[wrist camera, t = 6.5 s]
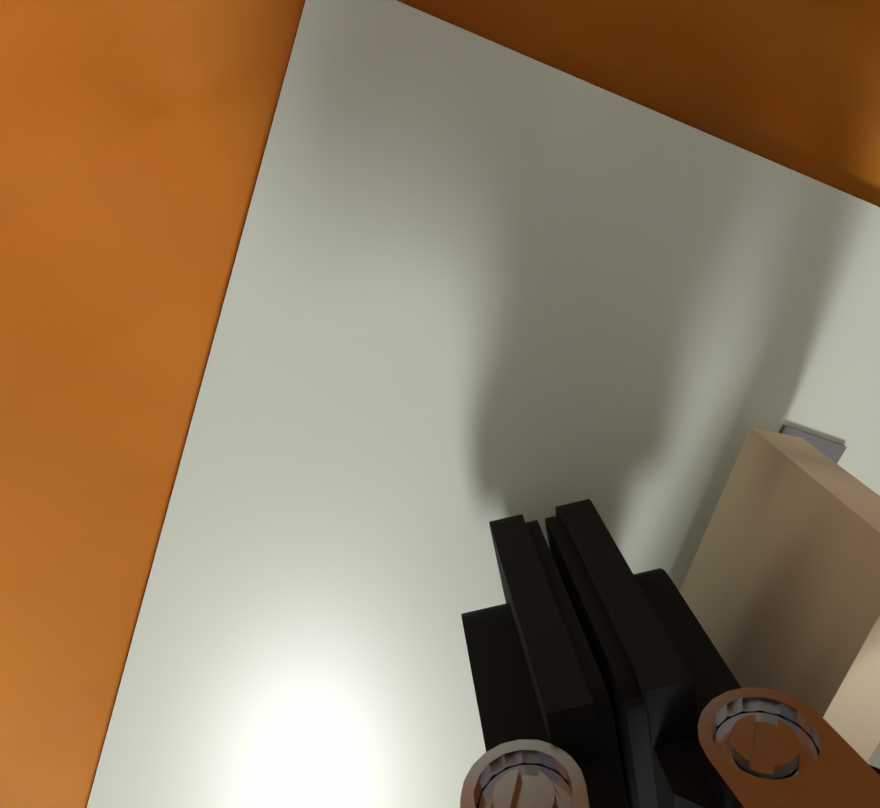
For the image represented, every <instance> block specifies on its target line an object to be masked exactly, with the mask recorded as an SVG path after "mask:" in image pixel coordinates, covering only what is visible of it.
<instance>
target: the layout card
mask: <svg viewBox="0 0 880 808" xmlns="http://www.w3.org/2000/svg"><path fill="white" fill-rule="evenodd" d="M751 427H754V428H758V429H763V430H767V431H772V432H777V433H781V434H786V435H791V436H795V437H800V438H803V439H804V440H806V441H807V442H808V443H810V444H811V445H812V446H814V447H815V448H816V449H818V450H819V451H820V452H822V453H823V454H824V455H826V456H827V457H828V458H830V459H831V460H832V461H834V462H835V463H836V464H838V465H839V466H840V467H842V468H843V469H844V470H846V471H847V472H848V473H850V474H851V475H852V476H854V477H855V478H856V479H858V480H859V481H860V482H862V483H863V484H864V485H866V486H867V487H868V488H870V489H871V490H872V491H874V492H875V493H876V494H878V495H879V496H880V207H878V206H876V205H873V204H871V203H869V202H866V201H864V200H862V199H859V198H857V197H855V196H852V195H850V194H848V193H845V192H843V191H841V190H838V189H836V188H834V187H831V186H829V185H827V184H824V183H822V182H820V181H817V180H815V179H813V178H810V177H808V176H806V175H803V174H801V173H798V172H796V171H794V170H791V169H789V168H787V167H784V166H782V165H780V164H777V163H775V162H773V161H770V160H768V159H766V158H763V157H761V156H759V155H756V154H754V153H752V152H749V151H747V150H745V149H742V148H740V147H738V146H735V145H733V144H731V143H728V142H726V141H724V140H721V139H719V138H717V137H714V136H712V135H710V134H707V133H705V132H703V131H700V130H698V129H696V128H693V127H691V126H689V125H686V124H684V123H682V122H679V121H677V120H675V119H672V118H670V117H668V116H665V115H663V114H661V113H658V112H656V111H654V110H651V109H649V108H647V107H644V106H642V105H640V104H637V103H635V102H633V101H630V100H628V99H626V98H623V97H621V96H619V95H616V94H614V93H612V92H609V91H607V90H605V89H602V88H600V87H598V86H595V85H593V84H591V83H588V82H586V81H584V80H581V79H579V78H577V77H574V76H572V75H570V74H567V73H565V72H563V71H560V70H558V69H556V68H553V67H551V66H549V65H546V64H544V63H542V62H539V61H537V60H535V59H532V58H530V57H528V56H525V55H523V54H521V53H518V52H516V51H514V50H511V49H509V48H507V47H504V46H502V45H499V44H497V43H495V42H492V41H490V40H488V39H485V38H483V37H481V36H478V35H476V34H474V33H471V32H469V31H467V30H464V29H462V28H460V27H457V26H455V25H453V24H450V23H448V22H446V21H443V20H441V19H439V18H436V17H434V16H432V15H429V14H427V13H425V12H422V11H420V10H418V9H415V8H413V7H411V6H408V5H406V4H404V3H401V2H399V1H397V0H306V1H305V4H304V8H303V12H302V15H301V19H300V23H299V27H298V30H297V34H296V38H295V41H294V45H293V49H292V52H291V56H290V60H289V63H288V67H287V71H286V74H285V78H284V82H283V86H282V89H281V93H280V97H279V100H278V104H277V108H276V111H275V115H274V119H273V122H272V126H271V130H270V134H269V137H268V141H267V145H266V148H265V152H264V156H263V159H262V163H261V167H260V170H259V174H258V178H257V181H256V185H255V189H254V193H253V196H252V200H251V204H250V207H249V211H248V215H247V218H246V222H245V226H244V229H243V233H242V237H241V240H240V244H239V248H238V252H237V255H236V259H235V263H234V266H233V270H232V274H231V277H230V281H229V285H228V288H227V292H226V296H225V299H224V303H223V307H222V311H221V314H220V318H219V322H218V325H217V329H216V333H215V336H214V340H213V344H212V347H211V351H210V355H209V358H208V362H207V366H206V370H205V373H204V377H203V381H202V384H201V388H200V392H199V395H198V399H197V403H196V406H195V410H194V414H193V417H192V421H191V425H190V429H189V432H188V436H187V440H186V443H185V447H184V451H183V454H182V458H181V462H180V465H179V469H178V473H177V477H176V480H175V484H174V488H173V491H172V495H171V499H170V502H169V506H168V510H167V513H166V517H165V521H164V524H163V528H162V532H161V536H160V539H159V543H158V547H157V550H156V554H155V558H154V561H153V565H152V569H151V572H150V576H149V580H148V583H147V587H146V591H145V595H144V598H143V602H142V606H141V609H140V613H139V617H138V620H137V624H136V628H135V631H134V635H133V639H132V642H131V646H130V650H129V654H128V657H127V661H126V665H125V668H124V672H123V676H122V679H121V683H120V687H119V690H118V694H117V698H116V701H115V705H114V709H113V713H112V716H111V720H110V724H109V727H108V731H107V735H106V738H105V742H104V746H103V749H102V753H101V757H100V760H99V764H98V768H97V772H96V775H95V779H94V783H93V786H92V790H91V794H90V797H89V801H88V805H87V808H460V797H461V792H462V787H463V782H464V779H465V777H466V776H467V774H468V772H469V770H470V769H471V767H472V765H473V764H474V763H475V762H476V761H477V760H478V759H479V758H480V757H481V756H482V755H483V754H484V753H486V748H485V743H484V738H483V732H482V727H481V721H480V716H479V710H478V705H477V699H476V694H475V688H474V683H473V677H472V672H471V667H470V661H469V656H468V650H467V645H466V639H465V634H464V628H463V623H462V617H461V614H462V613H467V612H471V611H476V610H480V609H484V608H489V607H493V606H497V605H502V604H506V601H505V597H504V592H503V587H502V582H501V578H500V573H499V568H498V564H497V559H496V554H495V549H494V545H493V540H492V535H491V530H490V525H489V521H494V520H498V519H502V518H507V517H511V516H516V515H520V514H522V515H523V517H524V520H525V522H530V521H534V520H538V522H539V525H540V527H541V530H542V532H543V535H544V537H545V539H546V542H547V544H548V547H549V543H548V537H547V532H546V526H545V518H549V517H553V516H556V513H555V508H556V506H560V505H564V504H569V503H573V502H577V501H582V500H586V499H590V500H591V501H592V503H593V505H594V506H595V508H596V510H597V512H598V513H599V515H600V517H601V519H602V520H603V522H604V524H605V526H606V527H607V529H608V531H609V533H610V534H611V536H612V538H613V540H614V541H615V543H616V545H617V547H618V548H619V550H620V552H621V554H622V555H623V557H624V559H625V561H626V562H627V564H628V566H629V567H630V569H631V571H632V573H633V574H637V573H641V572H646V571H650V570H654V569H659V568H661V569H663V570H665V572H666V573H667V574H668V575H669V577H670V578H671V580H672V581H673V583H674V584H675V586H676V587H677V589H678V590H679V592H680V589H681V587H682V585H683V583H684V580H685V578H686V576H687V573H688V571H689V569H690V566H691V564H692V562H693V559H694V557H695V555H696V552H697V550H698V548H699V546H700V543H701V541H702V539H703V536H704V534H705V532H706V529H707V527H708V525H709V522H710V520H711V518H712V515H713V513H714V511H715V509H716V506H717V504H718V502H719V499H720V497H721V495H722V492H723V490H724V488H725V485H726V483H727V481H728V478H729V476H730V474H731V472H732V469H733V467H734V465H735V462H736V460H737V458H738V455H739V453H740V451H741V448H742V446H743V444H744V441H745V439H746V437H747V435H748V432H749V430H750V428H751ZM867 763H868V764H869V765H871V766H874V767H877V768H879V769H880V742H879V743H878V745H877V747H876V748H875V750H874V752H873V753H872V755H871V757H870V759H869V760H868V762H867Z"/></svg>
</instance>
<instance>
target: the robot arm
mask: <svg viewBox="0 0 880 808" xmlns="http://www.w3.org/2000/svg"><path fill="white" fill-rule="evenodd" d="M555 513H556V516H553V517H549V518H545V526H546V532H547V537H548V543H549V547H548V544H547V542H546V539H545V537H544V535H543V532H542V530H541V527H540V525H539V522H538V520H534V521H530V522H525V520H524V517H523V515H522V514H520V515H516V516H511V517H507V518H502V519H498V520H494V521H489V525H490V530H491V535H492V540H493V545H494V549H495V554H496V559H497V564H498V568H499V573H500V578H501V582H502V587H503V592H504V597H505V601H506V604H502V605H497V606H493V607H489V608H484V609H480V610H476V611H471V612H467V613H462V614H461V617H462V623H463V628H464V634H465V639H466V645H467V650H468V656H469V661H470V667H471V672H472V677H473V683H474V688H475V694H476V699H477V705H478V710H479V716H480V721H481V727H482V732H483V738H484V743H485V748H486V753H484V754H483V755H482V756H481V757H480V758H479V759H478V760H477V761H476V762H475V763H474V764H473V765H472V767H471V769H470V770H469V772H468V774H467V776H466V777H465V779H464V782H463V787H462V792H461V797H460V808H880V769H879V768H877V767H874V766H871V765H869V764H868V763H867V762H866V761H865V760H864V759H863V758H862V757H861V756H860V755H859V754H858V753H857V752H856V751H855V750H854V749H853V748H852V747H851V746H850V745H849V744H848V743H847V742H846V741H845V740H844V739H843V738H842V737H841V736H840V735H839V734H838V733H837V732H836V731H835V730H834V729H833V728H832V727H831V725H830V724H829V723H828V722H827V721H826V720H825V719H824V718H823V717H822V716H821V715H820V714H819V713H817V712H816V711H815V710H813V709H812V708H811V707H810V706H808V705H807V704H806V703H805V702H803V701H801V700H799V699H797V698H795V697H793V696H791V695H789V694H786V693H784V692H780V691H776V690H771V689H767V688H746V687H744V688H741V686H740V685H739V683H738V682H737V680H736V678H735V677H734V675H733V674H732V672H731V671H730V669H729V668H728V666H727V665H726V663H725V661H724V660H723V658H722V657H721V655H720V654H719V652H718V651H717V649H716V648H715V646H714V645H713V643H712V641H711V640H710V638H709V637H708V635H707V634H706V632H705V631H704V629H703V628H702V626H701V624H700V623H699V621H698V620H697V618H696V617H695V615H694V614H693V612H692V611H691V609H690V607H689V606H688V604H687V603H686V601H685V600H684V598H683V597H682V595H681V594H680V592H679V590H678V589H677V587H676V586H675V584H674V583H673V581H672V580H671V578H670V577H669V575H668V574H667V573H666V572H665V570H663V569H661V568H659V569H654V570H650V571H646V572H641V573H637V574H633V573H632V571H631V569H630V567H629V566H628V564H627V562H626V561H625V559H624V557H623V555H622V554H621V552H620V550H619V548H618V547H617V545H616V543H615V541H614V540H613V538H612V536H611V534H610V533H609V531H608V529H607V527H606V526H605V524H604V522H603V520H602V519H601V517H600V515H599V513H598V512H597V510H596V508H595V506H594V505H593V503H592V501H591V500H590V499H586V500H582V501H577V502H573V503H569V504H564V505H560V506H556V508H555Z"/></svg>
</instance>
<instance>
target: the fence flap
mask: <svg viewBox="0 0 880 808" xmlns="http://www.w3.org/2000/svg"><path fill="white" fill-rule="evenodd" d="M680 594H681V595H682V597H683V598H684V600H685V601H686V603H687V604H688V606H689V607H690V609H691V611H692V612H693V614H694V615H695V617H696V618H697V620H698V621H699V623H700V624H701V626H702V628H703V629H704V631H705V632H706V634H707V635H708V637H709V638H710V640H711V641H712V643H713V645H714V646H715V648H716V649H717V651H718V652H719V654H720V655H721V657H722V658H723V660H724V661H725V663H726V665H727V666H728V668H729V669H730V671H731V672H732V674H733V675H734V677H735V678H736V680H737V682H738V683H739V685H740V686H741V688H744V687H746V688H767V689H771V690H776V691H780V692H784V693H786V694H789V695H791V696H793V697H795V698H797V699H799V700H801V701H803V702H805V703H806V704H807V705H808V706H810V707H811V708H812V709H813V710H815V711H816V712H817V713H819V714H820V715H821V716H822V717H823V718H824V719H825V720H826V721H827V722H828V723H829V724H830V725H831V727H832V728H833V729H834V730H835V731H836V732H837V733H838V734H839V735H840V736H841V737H842V738H843V739H844V740H845V741H846V742H847V743H848V744H849V745H850V746H851V747H852V748H853V749H854V750H855V751H856V752H857V753H858V754H859V755H860V756H861V757H862V758H863V759H864V760H865V761H866V762H868V760H869V759H870V757H871V755H872V753H873V752H874V750H875V748H876V747H877V745H878V743H879V742H880V496H879V495H878V494H876V493H875V492H874V491H872V490H871V489H870V488H868V487H867V486H866V485H864V484H863V483H862V482H860V481H859V480H858V479H856V478H855V477H854V476H852V475H851V474H850V473H848V472H847V471H846V470H844V469H843V468H842V467H840V466H839V465H838V464H836V463H835V462H834V461H832V460H831V459H830V458H828V457H827V456H826V455H824V454H823V453H822V452H820V451H819V450H818V449H816V448H815V447H814V446H812V445H811V444H810V443H808V442H807V441H806V440H804V439H803V438H800V437H795V436H791V435H786V434H781V433H777V432H772V431H767V430H763V429H758V428H754V427H751V428H750V430H749V432H748V435H747V437H746V439H745V441H744V444H743V446H742V448H741V451H740V453H739V455H738V458H737V460H736V462H735V465H734V467H733V469H732V472H731V474H730V476H729V478H728V481H727V483H726V485H725V488H724V490H723V492H722V495H721V497H720V499H719V502H718V504H717V506H716V509H715V511H714V513H713V515H712V518H711V520H710V522H709V525H708V527H707V529H706V532H705V534H704V536H703V539H702V541H701V543H700V546H699V548H698V550H697V552H696V555H695V557H694V559H693V562H692V564H691V566H690V569H689V571H688V573H687V576H686V578H685V580H684V583H683V585H682V587H681V589H680Z"/></svg>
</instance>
